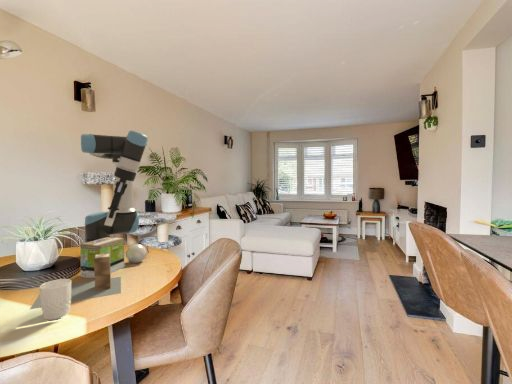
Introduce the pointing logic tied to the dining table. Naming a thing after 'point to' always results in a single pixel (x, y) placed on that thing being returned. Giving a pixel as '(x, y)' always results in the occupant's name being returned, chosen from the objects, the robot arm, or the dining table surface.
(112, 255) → the tea box
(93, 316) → the dining table surface
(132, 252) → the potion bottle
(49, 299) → the white cup
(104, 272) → the walnut block
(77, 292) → the rubber mat
